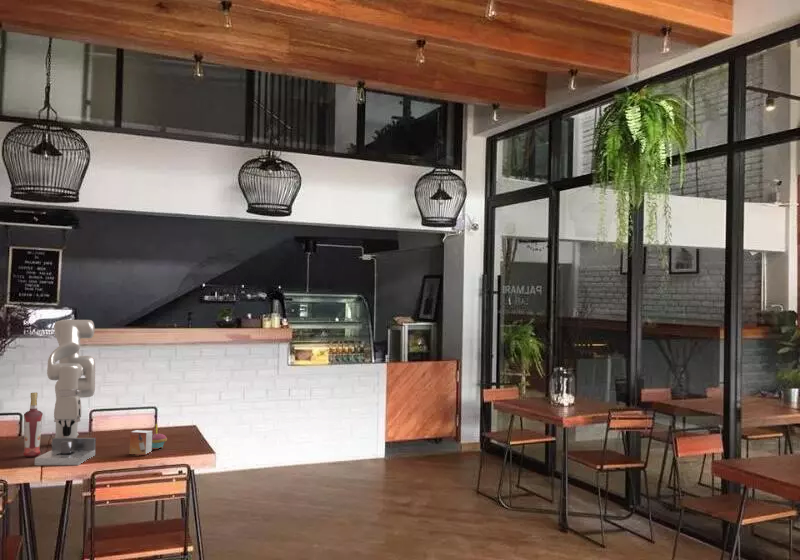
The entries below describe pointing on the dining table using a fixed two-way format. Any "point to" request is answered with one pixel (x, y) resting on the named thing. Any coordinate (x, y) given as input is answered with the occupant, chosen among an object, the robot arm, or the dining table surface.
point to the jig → (80, 453)
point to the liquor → (32, 429)
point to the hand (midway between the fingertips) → (66, 435)
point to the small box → (140, 442)
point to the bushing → (66, 448)
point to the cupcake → (158, 439)
